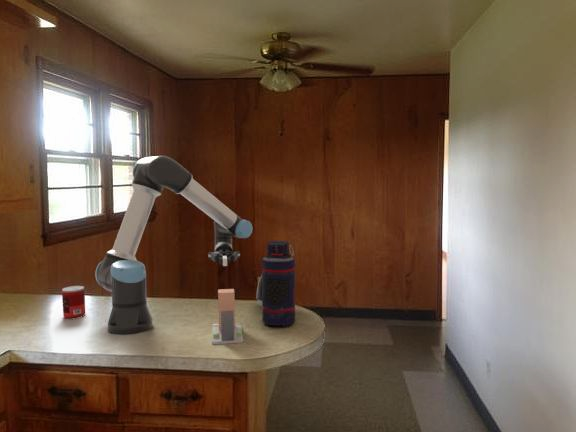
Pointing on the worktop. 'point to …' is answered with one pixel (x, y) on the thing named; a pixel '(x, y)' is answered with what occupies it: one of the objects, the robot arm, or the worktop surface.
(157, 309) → the worktop surface
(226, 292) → the tall salmon pillar
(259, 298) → the pump dispenser
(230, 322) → the dark grey rubber block
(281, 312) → the navy red-striped canister
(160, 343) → the worktop surface
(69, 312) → the canned food
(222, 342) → the gauge base
